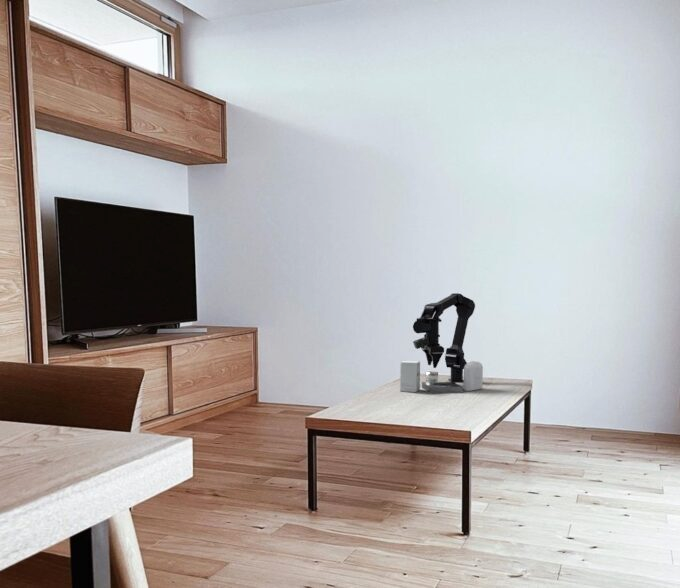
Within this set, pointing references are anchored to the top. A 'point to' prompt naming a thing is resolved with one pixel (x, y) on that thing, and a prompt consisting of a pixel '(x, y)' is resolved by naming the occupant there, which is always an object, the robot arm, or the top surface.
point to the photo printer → (473, 376)
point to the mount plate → (442, 387)
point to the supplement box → (410, 376)
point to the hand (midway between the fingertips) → (432, 366)
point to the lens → (431, 376)
